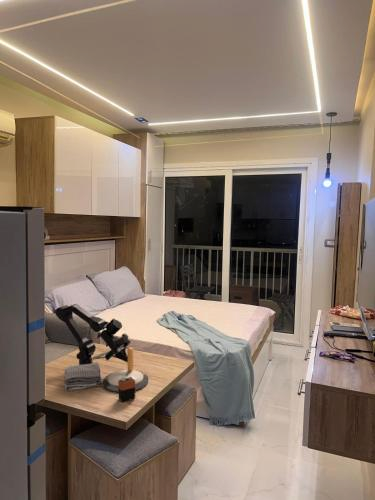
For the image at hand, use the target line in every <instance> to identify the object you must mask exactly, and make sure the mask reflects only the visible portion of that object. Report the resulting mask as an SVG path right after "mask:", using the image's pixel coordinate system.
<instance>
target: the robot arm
mask: <svg viewBox="0 0 375 500" xmlns="http://www.w3.org/2000/svg"><path fill="white" fill-rule="evenodd" d="M54 314H55V315H56V317H57V319H59V320H60V321H62V322H63V323H65V325H66V326H67V327H66V328H68V330H69V331H70V334H72V336H73V337H74V339H75V340H76V342H77V345H78V346H77V347H78V350H79V351H78V353H77V354H76V355H75V356H76V359H77V360H78V363H79V364H78V365H84V364H92V363H94V361H93V360H94V359H92V357H93V355H94V353H95V352H96V350H97V347H96V344H95V342H94V341H93V339H92V338H87V337H86V335H84V333H83V331H82V330H81V328H80V326H79V325H78V323H77V322H76V320H75V319H74V318H73V314H74V315H76V316H77V317H78V318H80V319H81V320H82V321H84V322H86V323H87V324H88V326H89V328H90V329H91V330H92V331H93V332H94V333H97V336H96V337H97V339H100V338H101V339H102V340H103V342H104V343H105V344H106V345H105V347H108V348H109V350H110V351H109V350H108V351H109V352H108V353H107V354H106V355H104V358H105V360H106V361H109V360H110V359H111V358H112V357H113V358H114V359H115V358H116V359H119V360H120V361H123V362H125V363H128V360H127V351H126V350H127V348H128V346H129V345H130V344H131V343H132V342H131V341H130V340H129V335H128V334H127V333H126V332H125V333H122V334H121V336H120V337H119V336H115V335H116V334H117V333H118V332H119V331H121V329H122V328H123V324H122V322H121V321H119V320H117V319H116V318H112V319H111V320H110V321H106V320H105V319H103V318H101V317H99V316H98V317H97V316H94V315H93V314H91V313H90V312H88V310H86V309H84V308H83V307H82V306H80V305H79V304H78V303H75V304H71V305H67V304H64V305H63V306H59V307H57V308H56V309H55V313H54ZM100 331H101V332H100Z"/></svg>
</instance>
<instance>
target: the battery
mask: <svg viewBox="0 0 375 500" xmlns="http://www.w3.org/2000/svg"><path fill="white" fill-rule="evenodd" d="M118 387H119V393H118V400H120V402H121V403H123V402H127V401H130V400H131V401H132V400H134V399H136V391H135V380H134V379H133V378H132V377H129V378H122V379H121V380H119V381H118Z"/></svg>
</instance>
